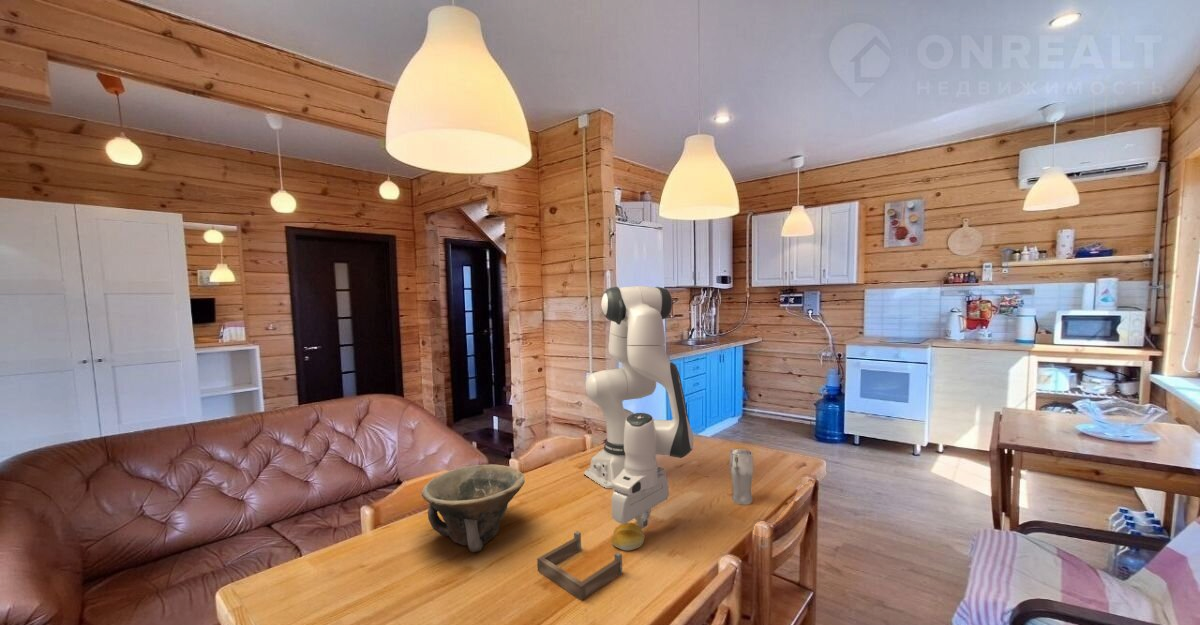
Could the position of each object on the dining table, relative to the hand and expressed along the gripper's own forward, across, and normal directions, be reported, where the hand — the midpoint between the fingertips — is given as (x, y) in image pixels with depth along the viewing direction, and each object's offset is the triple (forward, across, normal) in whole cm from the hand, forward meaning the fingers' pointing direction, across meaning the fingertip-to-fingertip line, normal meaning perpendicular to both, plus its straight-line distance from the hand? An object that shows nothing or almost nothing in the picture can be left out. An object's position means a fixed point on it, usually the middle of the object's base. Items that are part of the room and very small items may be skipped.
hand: (642, 526), depth 118 cm
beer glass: (+2, -35, +11) cm, 37 cm away
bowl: (+2, +30, -34) cm, 46 cm away
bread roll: (+2, +6, 0) cm, 6 cm away
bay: (+2, +23, 0) cm, 23 cm away
